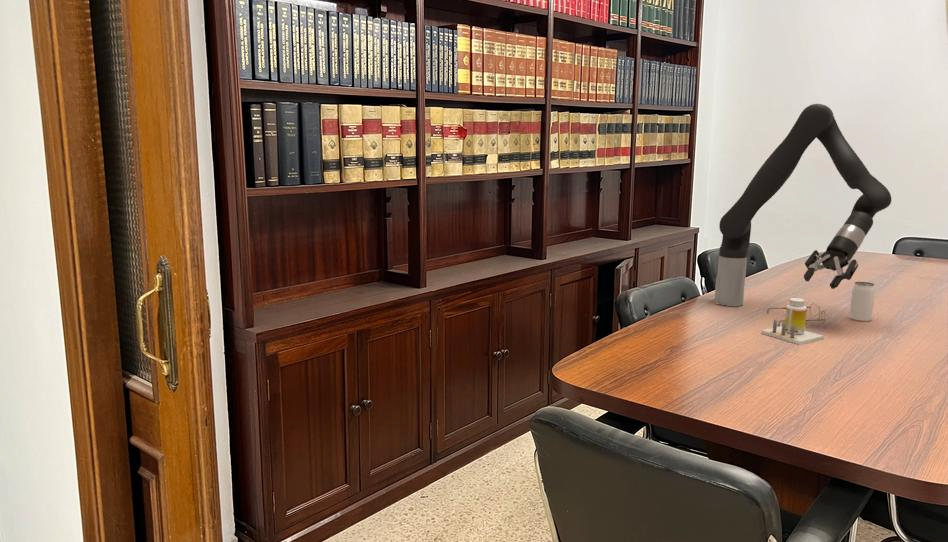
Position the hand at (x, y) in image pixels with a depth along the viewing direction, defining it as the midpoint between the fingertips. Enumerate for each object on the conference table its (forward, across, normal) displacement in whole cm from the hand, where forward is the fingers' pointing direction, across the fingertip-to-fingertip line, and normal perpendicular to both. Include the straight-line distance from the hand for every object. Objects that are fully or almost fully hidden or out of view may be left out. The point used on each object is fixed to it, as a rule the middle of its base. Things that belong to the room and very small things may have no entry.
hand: (818, 283), depth 210 cm
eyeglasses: (+9, -8, +14) cm, 19 cm away
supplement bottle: (+18, +2, +1) cm, 18 cm away
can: (-5, +2, +28) cm, 29 cm away
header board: (+18, +2, +2) cm, 18 cm away
